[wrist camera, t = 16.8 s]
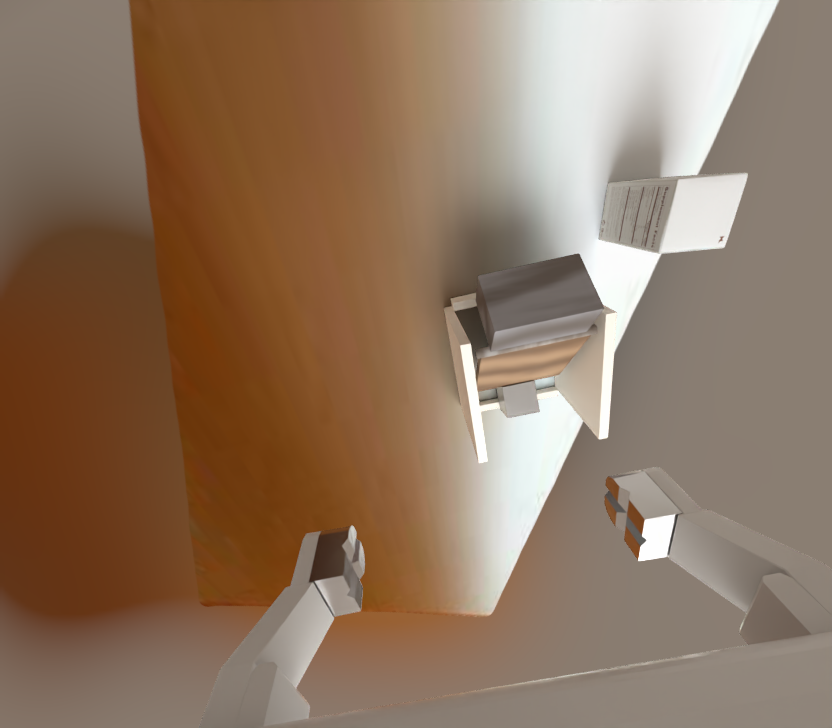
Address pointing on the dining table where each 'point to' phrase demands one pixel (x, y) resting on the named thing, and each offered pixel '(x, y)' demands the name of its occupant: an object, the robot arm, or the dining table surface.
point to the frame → (577, 383)
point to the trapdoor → (534, 320)
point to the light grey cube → (518, 399)
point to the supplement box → (672, 212)
